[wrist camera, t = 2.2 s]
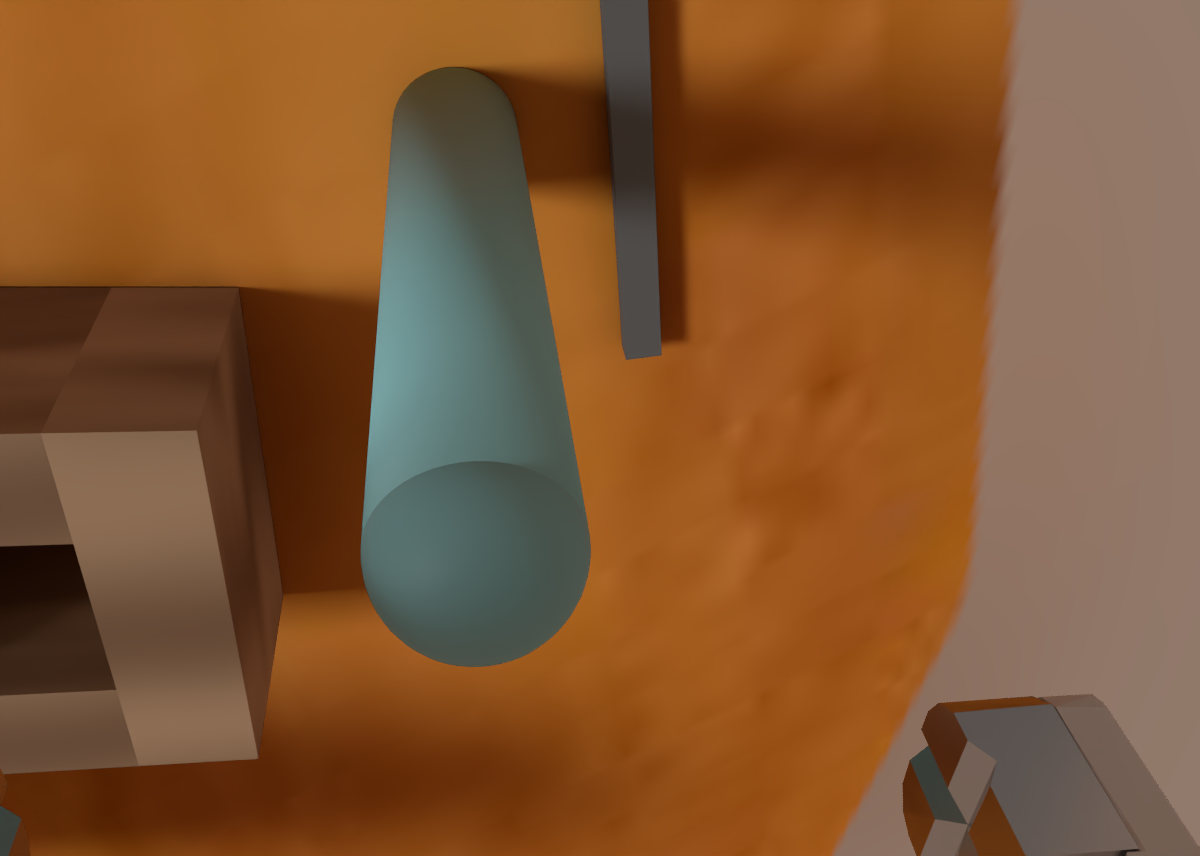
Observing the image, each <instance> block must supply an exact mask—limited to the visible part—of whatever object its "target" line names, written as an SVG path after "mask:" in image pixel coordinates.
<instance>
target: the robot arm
mask: <svg viewBox="0 0 1200 856" xmlns="http://www.w3.org/2000/svg"><path fill="white" fill-rule="evenodd" d="M921 730H922V732H923V734H924V736H925V739H926V741H927V743H928V745H929V746H927V747H926V748H925V749H924V750H922V751H921V752H920V753H918V754H917V755H916V756H915V757H913V758H912V759H911V760H910V762H909V765H908V768H907V772H906V775H905V778H904V781H903V813H904V817H905V822H906V825H907V830H908V834H909V837H910V840H911V842H912V845H913V847H914V850H915V853H916V855H917V856H1200V846H1198V845H1197V844H1196V842H1195V840H1194V839H1193V837H1192V836H1191V834H1190V833H1189V831H1188V830H1187V828H1186V827H1185V825H1184V824H1183V822H1182V821H1181V819H1180V818H1179V816H1178V814H1177V813H1176V811H1175V810H1174V808H1173V807H1172V805H1171V804H1170V802H1169V801H1168V799H1167V798H1166V796H1165V795H1164V793H1163V792H1162V790H1161V789H1160V788H1159V785H1158V784H1157V782H1156V781H1155V780H1154V778H1153V776H1152V775H1151V773H1150V772H1149V770H1148V769H1147V767H1146V766H1145V764H1144V763H1143V761H1142V760H1141V758H1140V757H1139V755H1138V754H1137V752H1136V750H1135V749H1134V747H1133V746H1132V744H1131V743H1130V741H1129V740H1128V738H1127V737H1126V735H1125V734H1124V732H1123V731H1122V729H1121V728H1120V726H1119V725H1118V723H1117V722H1116V720H1115V719H1114V717H1113V716H1112V714H1111V712H1110V711H1109V709H1108V708H1107V706H1106V705H1105V704H1104V703H1103V702H1102V701H1100V700H1099V699H1098V698H1096V697H1095V696H1094V695H1092V694H1086V695H1067V696H1052V697H1051V696H1050V697H1039V698H1035V697H1033V696H1029V697H1015V698H1002V699H988V700H975V701H961V702H947V703H938V704H937V705H936V706H934V707H933V708H932V709H931V710H929V711H928V713H927V716H926V719H925V721H924V724H923V726H922V729H921ZM7 787H8V783H7V781H6V779H5V777H4V775H3V773H2V771H1V769H0V856H30V848H29V839H28V834H27V832H26V829H25V826H24V824H23V821H22V818H20V817H19V816H17V815H15V814H14V813H12V812H10V811H9V810H7V809H5V808H3V807H2V806H1V803H2V800H3V797H4V795H5V792H6V789H7Z"/></svg>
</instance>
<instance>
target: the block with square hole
mask: <svg viewBox="0 0 1200 856" xmlns="http://www.w3.org/2000/svg"><path fill="white" fill-rule="evenodd" d="M282 600H283V591H282V585H281V578H280V571H279V564H278V557H277V550H276V543H275V536H274V529H273V523H272V516H271V509H270V502H269V495H268V488H267V481H266V474H265V467H264V460H263V454H262V447H261V440H260V433H259V426H258V419H257V412H256V405H255V398H254V392H253V385H252V378H251V371H250V364H249V357H248V350H247V343H246V336H245V329H244V323H243V316H242V309H241V302H240V295H239V288H163V287H0V769H1V771H2V773H3V774H15V773H32V772H49V771H65V770H82V769H98V768H115V767H132V766H148V765H165V764H181V763H198V762H215V761H231V760H248V759H258V758H259V751H260V745H261V738H262V731H263V725H264V718H265V712H266V705H267V699H268V692H269V686H270V679H271V672H272V666H273V659H274V653H275V646H276V640H277V633H278V626H279V620H280V613H281V607H282Z"/></svg>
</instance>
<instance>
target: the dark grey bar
mask: <svg viewBox="0 0 1200 856" xmlns="http://www.w3.org/2000/svg"><path fill="white" fill-rule="evenodd" d="M600 9H601V24H602V40H603V55H604V71H605V86H606V101H607V117H608V132H609V148H610V163H611V179H612V194H613V210H614V225H615V241H616V256H617V272H618V287H619V303H620V318H621V333H622V346H623V350H624V354H625V357H626V360H628V359H636V358H644V357H652V356H660V355H662V354H661V328H660V302H659V276H658V250H657V224H656V198H655V172H654V146H653V120H652V94H651V68H650V42H649V17H648V0H600Z"/></svg>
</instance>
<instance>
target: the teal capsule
mask: <svg viewBox="0 0 1200 856" xmlns="http://www.w3.org/2000/svg"><path fill="white" fill-rule="evenodd" d="M590 557H591V545H590V534H589V529H588V523H587V518H586V512H585V506H584V501H583V495H582V489H581V484H580V478H579V472H578V467H577V461H576V455H575V450H574V444H573V438H572V433H571V427H570V421H569V416H568V410H567V404H566V399H565V393H564V387H563V382H562V376H561V371H560V365H559V359H558V354H557V348H556V342H555V337H554V331H553V325H552V320H551V314H550V308H549V303H548V297H547V291H546V286H545V280H544V274H543V269H542V263H541V257H540V252H539V246H538V240H537V235H536V229H535V223H534V218H533V212H532V207H531V201H530V195H529V190H528V184H527V178H526V173H525V167H524V161H523V156H522V150H521V144H520V139H519V133H518V127H517V122H516V116H515V112H514V109H513V107H512V104H511V102H510V100H509V99H508V97H507V96H506V94H505V93H504V91H503V90H502V89H501V88H500V87H499V86H498V85H497V84H496V83H495V82H494V81H492V80H491V79H489V78H488V77H486V76H485V75H483V74H481V73H479V72H476V71H473V70H470V69H465V68H458V67H446V68H440V69H436V70H433V71H430V72H428V73H425V74H423V75H422V76H420V77H418V78H417V79H415V80H414V81H413V82H412V83H411V84H410V85H409V86H408V87H407V88H406V89H405V90H404V92H403V93H402V95H401V96H400V98H399V100H398V102H397V104H396V108H395V111H394V116H393V125H392V138H391V151H390V164H389V178H388V191H387V204H386V217H385V230H384V244H383V257H382V270H381V283H380V297H379V310H378V323H377V336H376V350H375V363H374V376H373V389H372V402H371V416H370V429H369V442H368V455H367V469H366V482H365V495H364V508H363V521H362V535H361V568H362V574H363V579H364V583H365V587H366V590H367V592H368V595H369V598H370V600H371V602H372V604H373V606H374V608H375V610H376V612H377V613H378V615H379V616H380V618H381V619H382V621H383V622H384V623H385V624H386V626H387V627H388V628H389V629H390V631H391V632H392V633H394V634H395V635H396V636H397V637H398V638H399V639H400V640H401V641H402V642H404V643H405V644H406V645H407V646H409V647H410V648H412V649H413V650H415V651H417V652H419V653H421V654H423V655H425V656H427V657H428V658H431V659H433V660H436V661H439V662H442V663H446V664H450V665H456V666H466V667H482V666H491V665H497V664H502V663H505V662H509V661H512V660H515V659H517V658H520V657H522V656H524V655H526V654H528V653H530V652H532V651H533V650H535V649H537V648H538V647H540V646H541V645H542V644H544V643H545V642H546V641H548V640H549V639H550V638H551V637H553V636H554V635H555V634H556V633H557V632H558V631H559V629H560V628H561V627H562V626H563V625H564V624H565V622H566V621H567V620H568V618H569V617H570V616H571V614H572V613H573V611H574V609H575V607H576V605H577V603H578V602H579V600H580V598H581V596H582V593H583V590H584V587H585V584H586V581H587V578H588V572H589V566H590Z"/></svg>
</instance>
